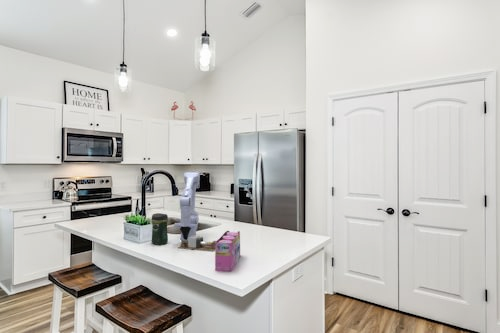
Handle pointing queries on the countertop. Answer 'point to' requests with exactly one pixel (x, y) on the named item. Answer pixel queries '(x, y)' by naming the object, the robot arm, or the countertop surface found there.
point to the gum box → (227, 251)
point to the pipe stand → (203, 248)
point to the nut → (199, 242)
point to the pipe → (200, 243)
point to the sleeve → (193, 241)
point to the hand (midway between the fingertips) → (185, 239)
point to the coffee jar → (159, 228)
